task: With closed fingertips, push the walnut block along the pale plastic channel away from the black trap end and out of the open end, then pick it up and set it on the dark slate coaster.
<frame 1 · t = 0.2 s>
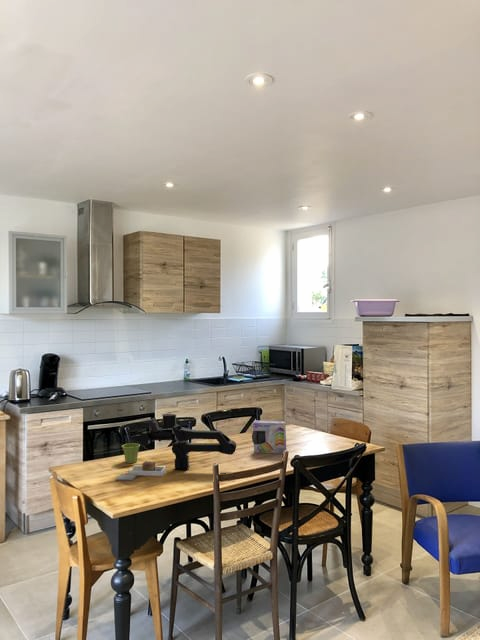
hand: (133, 435, 264), 16 cm above the table, fingers open, 9 cm apart
channel: (146, 472, 255), on the table
cake pan box: (269, 452, 293), on the table
walnut block: (148, 472, 255), on the table
plant pot: (131, 462, 275), on the table
slate coaster: (126, 478, 246), on the table
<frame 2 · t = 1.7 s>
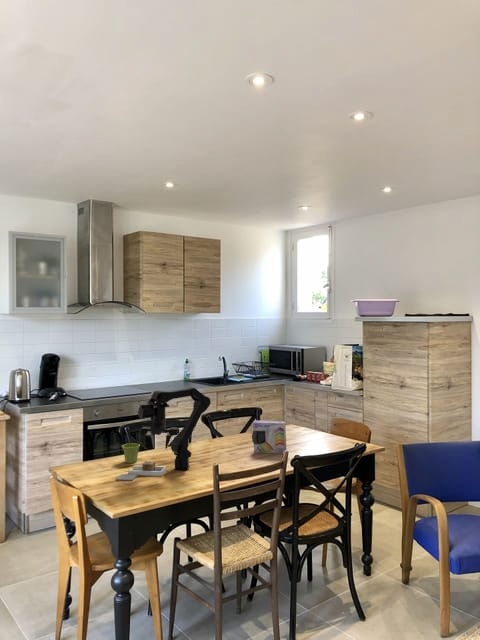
hand: (159, 448, 254), 12 cm above the table, fingers open, 6 cm apart
nothing on the table moved.
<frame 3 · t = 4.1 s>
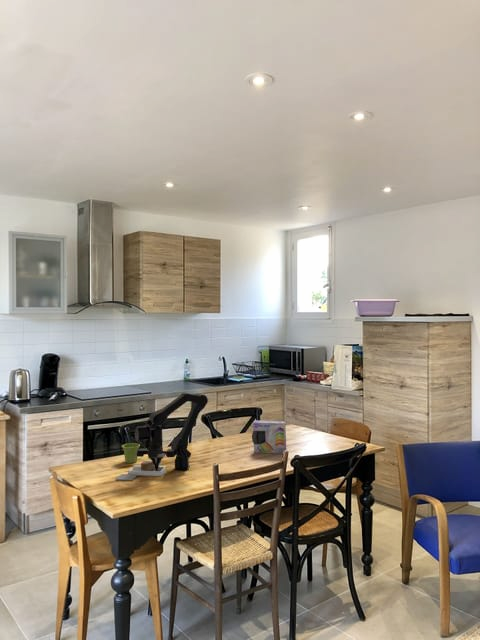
hand: (156, 470, 254), 1 cm above the table, fingers closed
walnut block: (147, 472, 255), on the table, touching gripper
everything else where it was.
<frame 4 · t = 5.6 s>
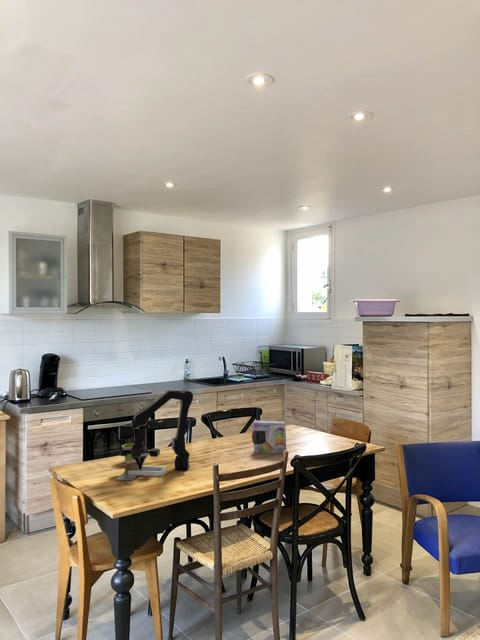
hand: (140, 469, 255), 1 cm above the table, fingers closed
walnut block: (131, 472, 256), on the table, touching gripper
everything else where it was.
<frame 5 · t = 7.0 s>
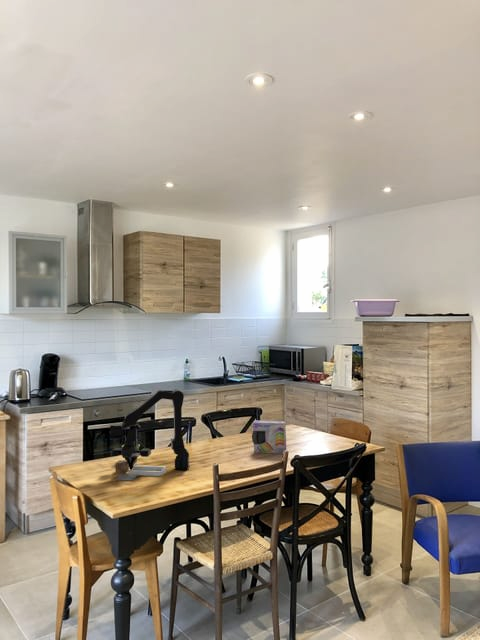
hand: (131, 469, 256), 1 cm above the table, fingers closed
walnut block: (122, 471, 256), on the table, touching gripper
everything else where it was.
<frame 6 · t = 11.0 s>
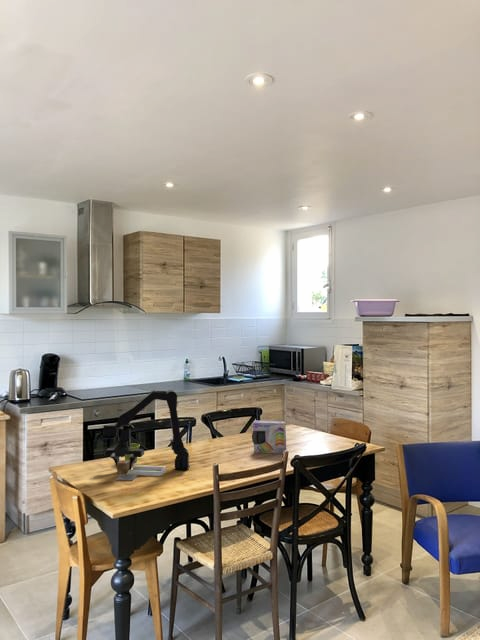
hand: (124, 469, 256), 1 cm above the table, fingers open, 6 cm apart
nothing on the table moved.
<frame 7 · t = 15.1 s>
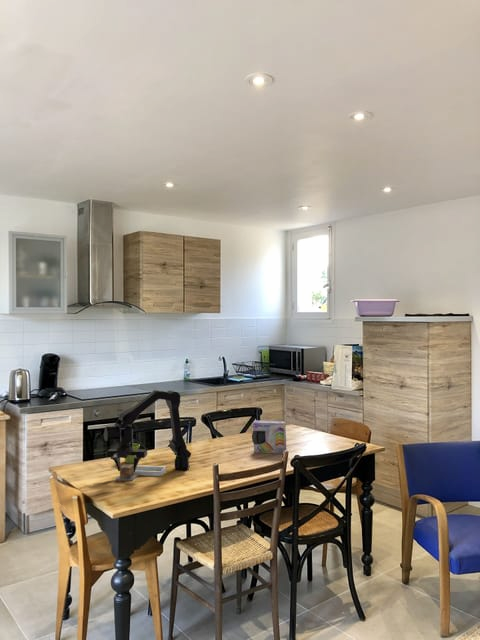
hand: (126, 471, 246), 3 cm above the table, fingers open, 7 cm apart
walnut block: (126, 476, 246), point 1 cm above the table, touching slate coaster
everything else where it was.
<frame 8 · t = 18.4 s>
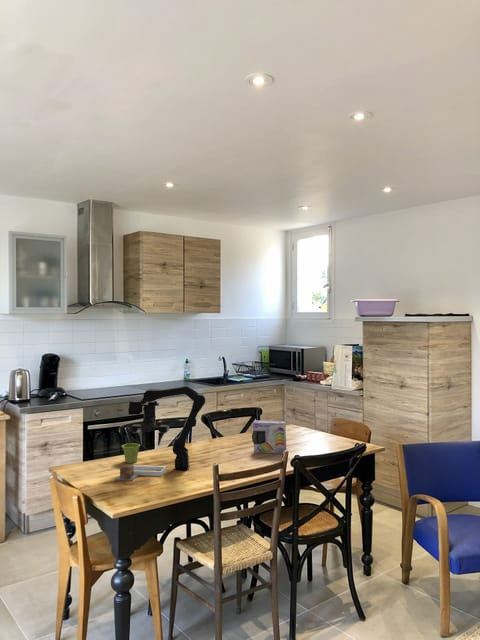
hand: (149, 445, 260), 12 cm above the table, fingers open, 9 cm apart
nothing on the table moved.
at the end: walnut block inside the target area on the slate coaster (0.1 cm from its centre), point 0.6 cm above the slate coaster's base; the gripper is holding nothing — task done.
